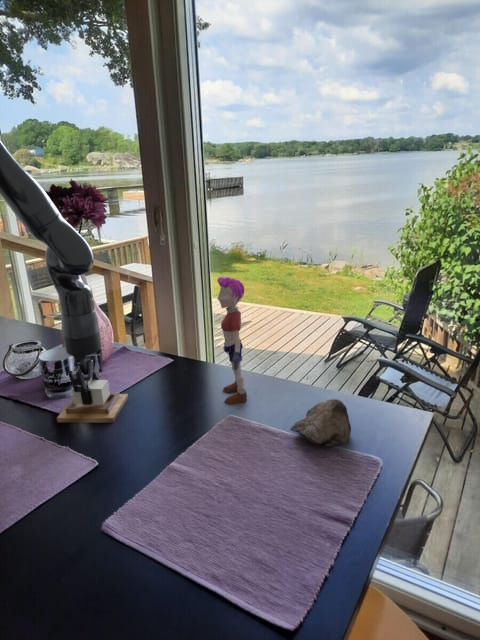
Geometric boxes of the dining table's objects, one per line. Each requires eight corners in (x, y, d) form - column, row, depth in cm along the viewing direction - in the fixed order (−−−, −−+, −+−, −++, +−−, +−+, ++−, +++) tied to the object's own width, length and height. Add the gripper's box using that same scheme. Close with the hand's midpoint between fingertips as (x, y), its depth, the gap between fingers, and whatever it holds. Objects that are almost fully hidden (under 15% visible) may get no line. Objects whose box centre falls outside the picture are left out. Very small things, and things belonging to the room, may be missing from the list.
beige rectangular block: (74, 404, 102) (71, 388, 100) (81, 394, 106) (79, 379, 104) (103, 404, 101) (101, 388, 100) (110, 394, 105) (108, 379, 104)
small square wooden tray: (57, 422, 100) (55, 413, 99) (77, 397, 110) (75, 389, 109) (113, 422, 99) (112, 413, 98) (128, 398, 109) (127, 389, 108)
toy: (220, 381, 116) (214, 269, 106) (244, 379, 117) (240, 268, 106) (224, 413, 101) (218, 286, 91) (252, 410, 102) (248, 284, 92)
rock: (288, 436, 97) (275, 400, 93) (332, 412, 99) (321, 376, 95) (317, 472, 85) (304, 433, 81) (366, 444, 88) (356, 405, 84)
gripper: (77, 319, 105) (88, 384, 110) (49, 343, 91) (63, 414, 97) (108, 319, 104) (117, 384, 110) (85, 342, 91) (96, 415, 96)
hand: (92, 398), depth 103 cm, fingers closed on beige rectangular block, 4 cm apart
